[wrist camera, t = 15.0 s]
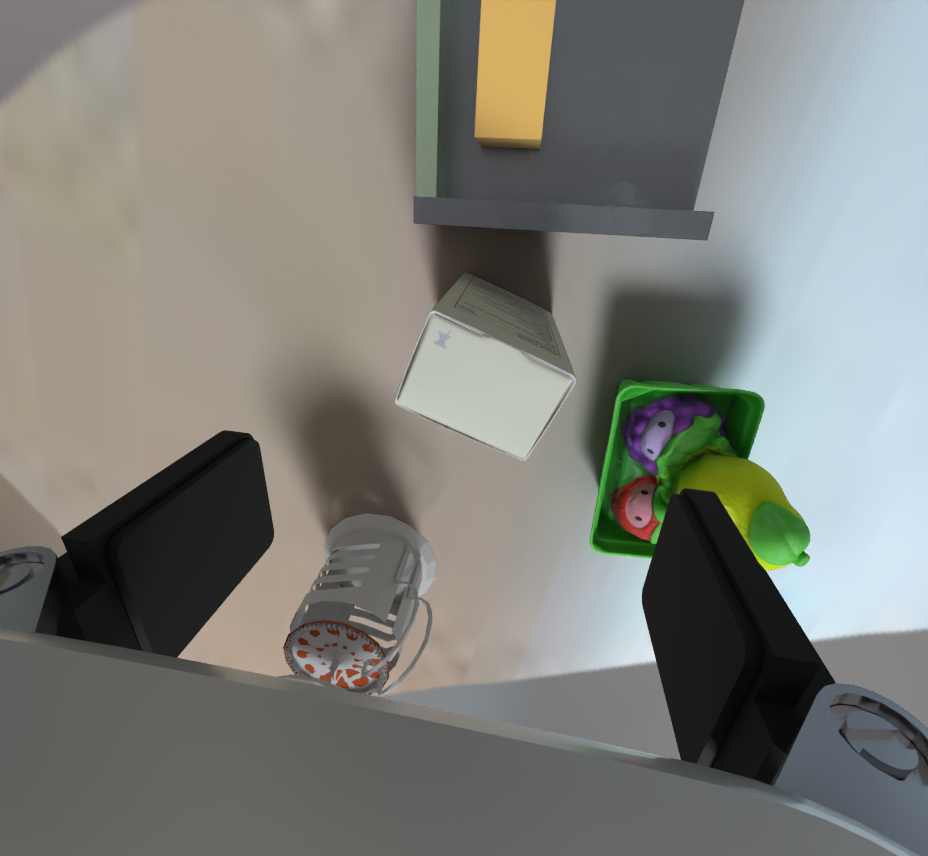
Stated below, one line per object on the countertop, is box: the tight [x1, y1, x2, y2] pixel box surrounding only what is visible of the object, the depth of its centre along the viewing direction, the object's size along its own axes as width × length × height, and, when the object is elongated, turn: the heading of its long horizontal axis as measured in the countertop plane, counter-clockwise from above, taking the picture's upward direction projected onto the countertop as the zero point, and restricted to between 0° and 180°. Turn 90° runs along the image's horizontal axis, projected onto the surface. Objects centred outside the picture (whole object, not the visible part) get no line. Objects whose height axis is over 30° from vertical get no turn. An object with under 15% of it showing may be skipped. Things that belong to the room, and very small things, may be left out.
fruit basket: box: [590, 379, 810, 571], centre depth 25 cm, size 11×9×11 cm
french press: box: [279, 513, 436, 695], centre depth 26 cm, size 10×12×25 cm
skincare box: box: [395, 272, 576, 461], centre depth 23 cm, size 6×4×12 cm
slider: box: [474, 0, 556, 149], centre depth 20 cm, size 3×5×3 cm, turn 177°
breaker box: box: [414, 0, 744, 240], centre depth 21 cm, size 14×12×4 cm
